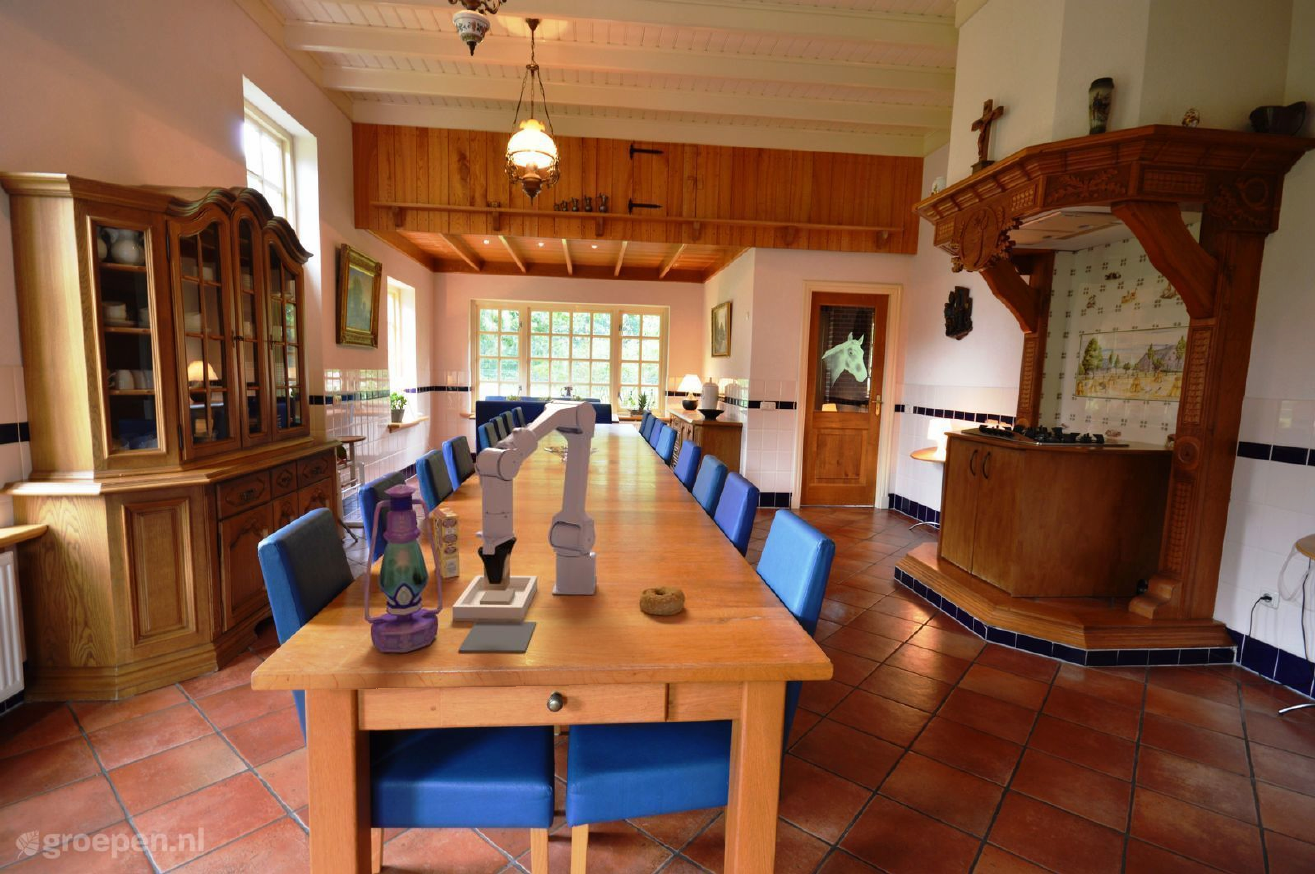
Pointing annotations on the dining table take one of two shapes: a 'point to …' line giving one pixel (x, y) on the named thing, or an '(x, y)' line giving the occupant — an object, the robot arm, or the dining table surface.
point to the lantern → (402, 577)
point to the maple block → (505, 578)
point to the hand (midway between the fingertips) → (498, 578)
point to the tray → (495, 601)
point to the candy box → (446, 541)
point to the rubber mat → (498, 637)
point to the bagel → (662, 601)
